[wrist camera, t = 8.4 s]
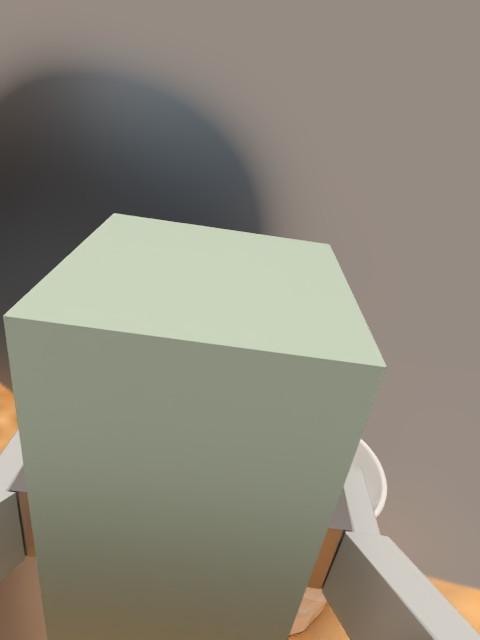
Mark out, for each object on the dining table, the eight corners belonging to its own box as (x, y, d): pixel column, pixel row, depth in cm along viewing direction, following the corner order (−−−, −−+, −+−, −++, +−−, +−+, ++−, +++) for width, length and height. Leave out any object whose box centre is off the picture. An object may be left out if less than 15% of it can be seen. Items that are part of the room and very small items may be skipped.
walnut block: (64, 555, 26) (62, 523, 25) (69, 669, 21) (68, 637, 20) (-55, 583, 24) (-65, 549, 22) (-79, 718, 19) (-93, 686, 18)
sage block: (240, 605, 14) (329, 244, 8) (235, 783, 10) (387, 367, 5) (113, 591, 14) (113, 212, 8) (64, 767, 10) (2, 316, 4)
